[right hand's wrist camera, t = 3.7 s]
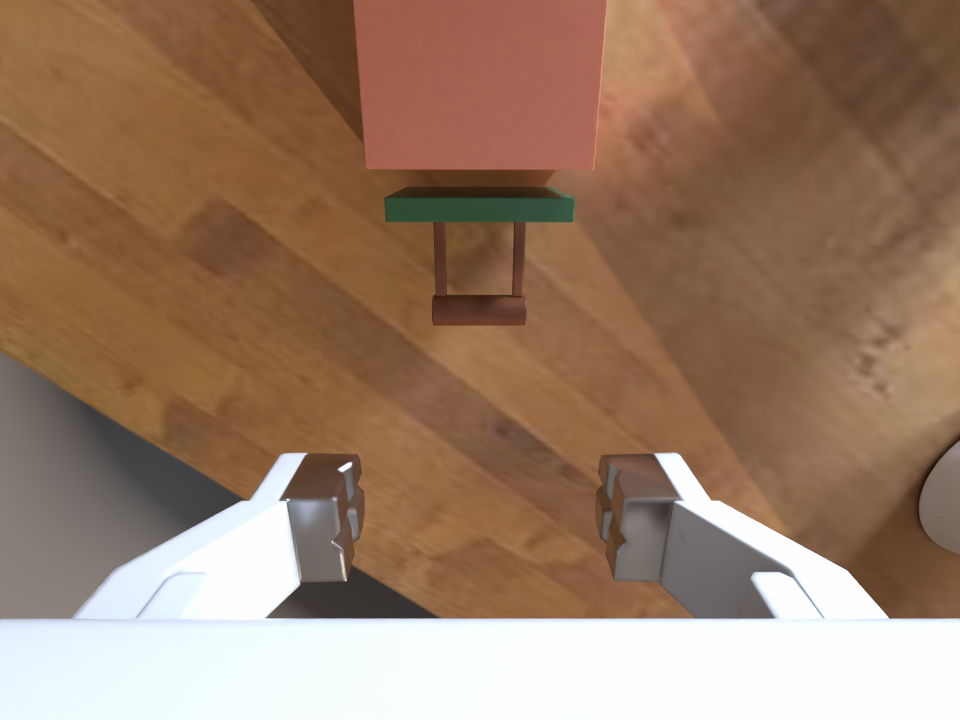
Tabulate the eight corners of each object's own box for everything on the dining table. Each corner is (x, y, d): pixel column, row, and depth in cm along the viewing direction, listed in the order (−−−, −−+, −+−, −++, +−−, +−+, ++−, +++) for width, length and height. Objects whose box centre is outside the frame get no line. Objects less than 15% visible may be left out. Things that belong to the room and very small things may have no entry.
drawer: (546, 298, 36) (565, 338, 28) (412, 298, 36) (393, 338, 28) (570, -152, 27) (608, -279, 19) (390, -152, 27) (353, -280, 19)
